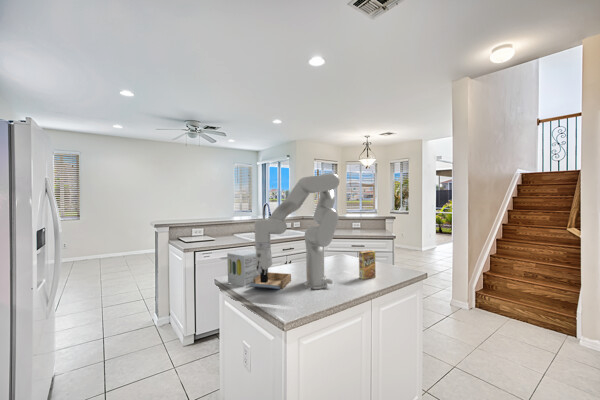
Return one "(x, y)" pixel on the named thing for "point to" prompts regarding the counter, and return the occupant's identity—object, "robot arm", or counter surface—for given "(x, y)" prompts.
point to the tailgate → (265, 286)
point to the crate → (275, 279)
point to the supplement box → (242, 267)
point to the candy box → (367, 264)
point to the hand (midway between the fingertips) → (264, 282)
